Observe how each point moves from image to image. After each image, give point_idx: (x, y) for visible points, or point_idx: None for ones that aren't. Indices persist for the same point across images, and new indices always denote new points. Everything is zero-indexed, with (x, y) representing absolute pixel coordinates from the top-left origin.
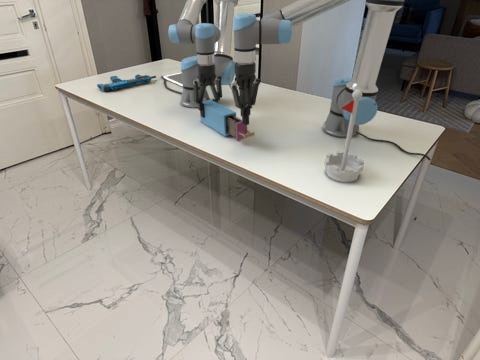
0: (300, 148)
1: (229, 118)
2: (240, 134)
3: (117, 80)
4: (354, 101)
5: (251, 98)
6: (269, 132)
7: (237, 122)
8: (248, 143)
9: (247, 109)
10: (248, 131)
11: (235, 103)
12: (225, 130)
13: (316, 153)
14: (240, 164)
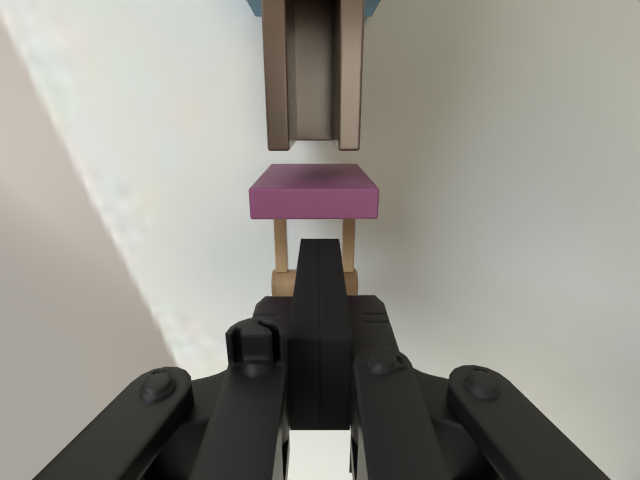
0: (527, 385)
1: (268, 11)
2: (274, 229)
3: None
4: None
5: (537, 476)
6: (574, 142)
7: (272, 195)
8: None
9: (317, 426)
10: (346, 240)
11: (78, 453)
12: (256, 1)
13: None
14: (181, 354)
